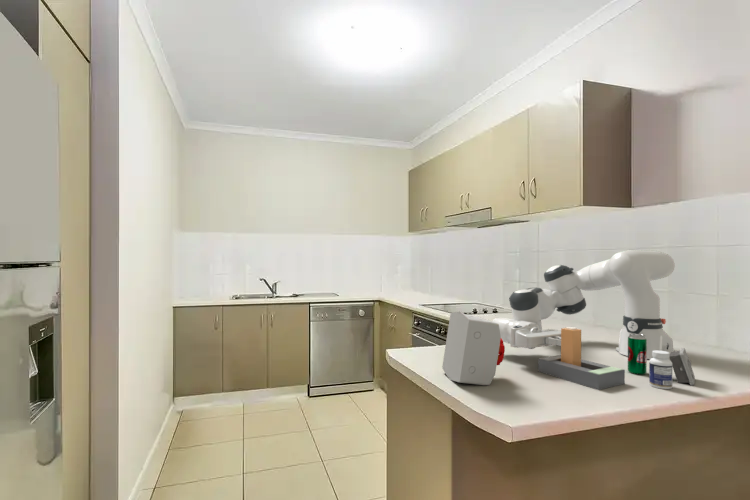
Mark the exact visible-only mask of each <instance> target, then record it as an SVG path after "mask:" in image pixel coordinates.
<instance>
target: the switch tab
mask: <svg viewBox="0 0 750 500" xmlns="http://www.w3.org/2000/svg"><path fill="white" fill-rule="evenodd" d="M560 330H561V346H560V355H561V362H565V363H569V364H572V365H576V366H580V367H581V359H582V329H580V328H577V327H574V326H573V327H572V326H567V327H566V326H565V327H563V328H561V329H560Z"/></svg>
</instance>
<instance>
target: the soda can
mask: <svg viewBox="0 0 750 500" xmlns="http://www.w3.org/2000/svg"><path fill="white" fill-rule="evenodd" d="M647 361H648V359H647V339H646V337H645V335H642V334H629V336H628V356H627V372H628V373H630V374H633V375H638V376H640V375H641V376H643V375H646V374H647V372H648V371H647V369H648V368H647V366H648V365H647V364H648V363H647Z"/></svg>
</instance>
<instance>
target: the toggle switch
mask: <svg viewBox="0 0 750 500" xmlns="http://www.w3.org/2000/svg"><path fill="white" fill-rule="evenodd" d="M537 359H538V360H537V361H538V363H537V365H538V368H537V371H538V372H539V373H542V374H545V375H549V376H552V377H556V378H559V379H562V380H564V381H565V380H566V381H569V382H571V383H575V384H579V385H582V386H586V387H588V388H590V389H591V388H592V389H594V390H597V391H599V390H604V389H609V388H611V387H612V388H613V387H617V386H620V385H625V383H626V382H625V377H626V374H625V373H626V372H625V369H623V368H620V367H615V366H612V365H611V366H610V365H608V364H607V365H606V364H604V363H603V364H602V363H598V362H594V361H591V360H590V361H589V360H586V359H582V358H581V367H580V366H576V365H572V364H569V363H565V362H561V354H557V355H552V356H551V355H550V356H543V357H539V358H537Z"/></svg>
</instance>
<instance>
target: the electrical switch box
mask: <svg viewBox="0 0 750 500" xmlns="http://www.w3.org/2000/svg"><path fill="white" fill-rule="evenodd" d="M505 348H506V347H505V343H504V342H503V340H502V338H501V334H500V329H499V324H497V323H495V322H492V320H489V319H486V318H484V317H480V316H477V315H472V314H466V313H464V312H463V311H460V310H459V311H452V312H450V314H449V321H448V327H447V334H446V340H445V348H444V353H443V361H442V366H441V367H442V371H443V372H444V373H445V375H446V376H447V378H448V379H449V380H450V381H453V382H457V383H462V384H470V385H478V386H490V385H491V383H492V382H493V380H494V377H495V376H496V371H497V366H501V365H500V364H501V363H503V361H504V357H505V352H506V351H505V350H506V349H505Z"/></svg>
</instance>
